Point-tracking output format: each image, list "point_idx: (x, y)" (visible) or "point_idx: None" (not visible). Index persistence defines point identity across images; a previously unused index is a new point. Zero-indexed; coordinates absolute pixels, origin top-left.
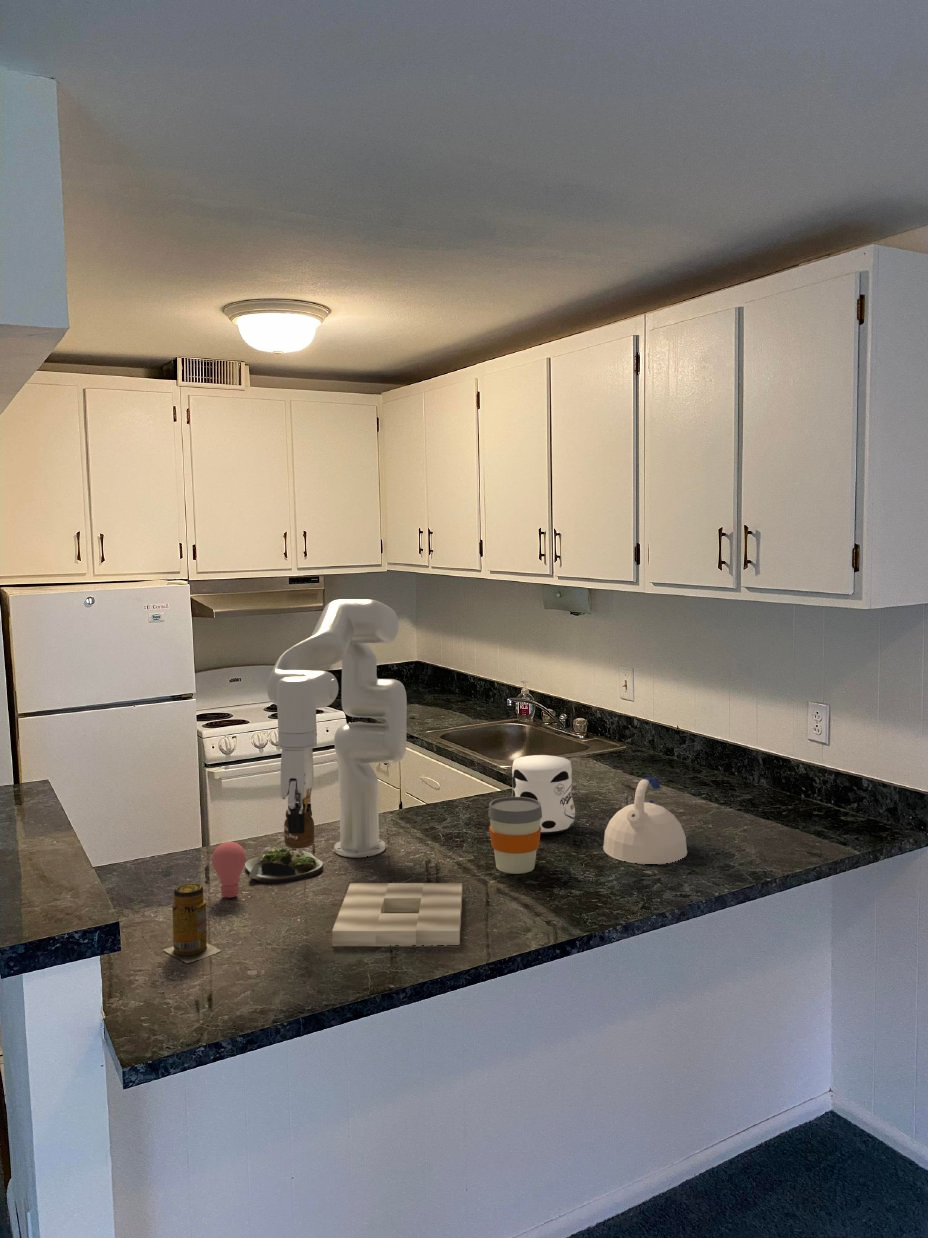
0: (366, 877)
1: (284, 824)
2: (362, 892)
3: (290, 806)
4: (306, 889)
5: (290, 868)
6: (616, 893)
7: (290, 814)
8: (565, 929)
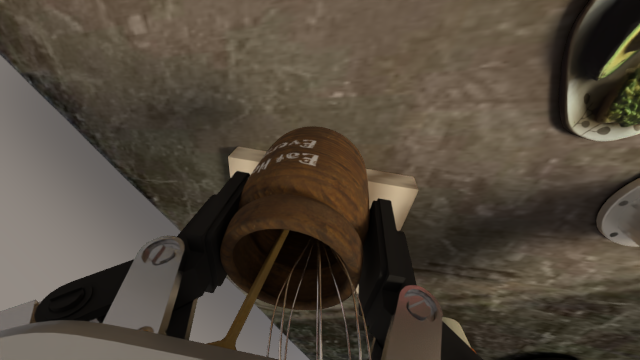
0: (492, 203)
1: (281, 165)
2: (369, 203)
3: (23, 312)
4: (487, 104)
5: (594, 70)
6: (346, 352)
7: (190, 241)
8: (281, 316)
